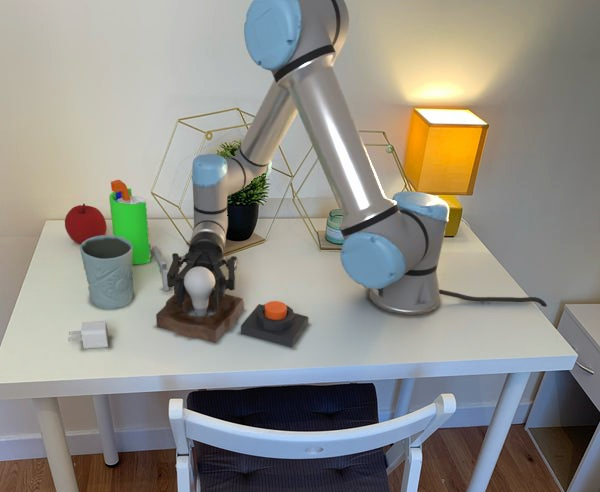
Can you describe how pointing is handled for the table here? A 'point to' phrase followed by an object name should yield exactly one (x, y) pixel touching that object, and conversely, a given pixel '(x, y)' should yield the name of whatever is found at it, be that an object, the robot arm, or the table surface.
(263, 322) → the black button base
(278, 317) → the test button
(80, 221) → the apple
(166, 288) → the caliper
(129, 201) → the green-shelled ribbed roller
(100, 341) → the usb wall charger
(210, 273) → the lightbulb
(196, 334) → the bulb stand
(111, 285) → the grey embossed cup
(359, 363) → the table surface
